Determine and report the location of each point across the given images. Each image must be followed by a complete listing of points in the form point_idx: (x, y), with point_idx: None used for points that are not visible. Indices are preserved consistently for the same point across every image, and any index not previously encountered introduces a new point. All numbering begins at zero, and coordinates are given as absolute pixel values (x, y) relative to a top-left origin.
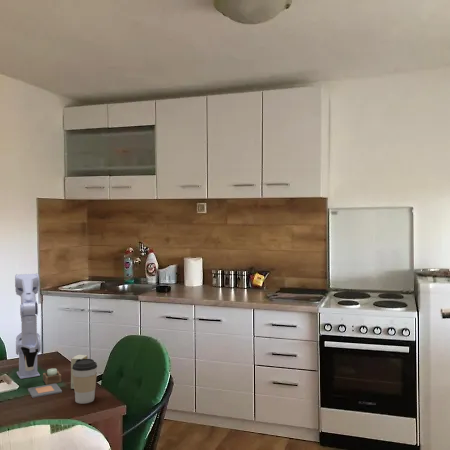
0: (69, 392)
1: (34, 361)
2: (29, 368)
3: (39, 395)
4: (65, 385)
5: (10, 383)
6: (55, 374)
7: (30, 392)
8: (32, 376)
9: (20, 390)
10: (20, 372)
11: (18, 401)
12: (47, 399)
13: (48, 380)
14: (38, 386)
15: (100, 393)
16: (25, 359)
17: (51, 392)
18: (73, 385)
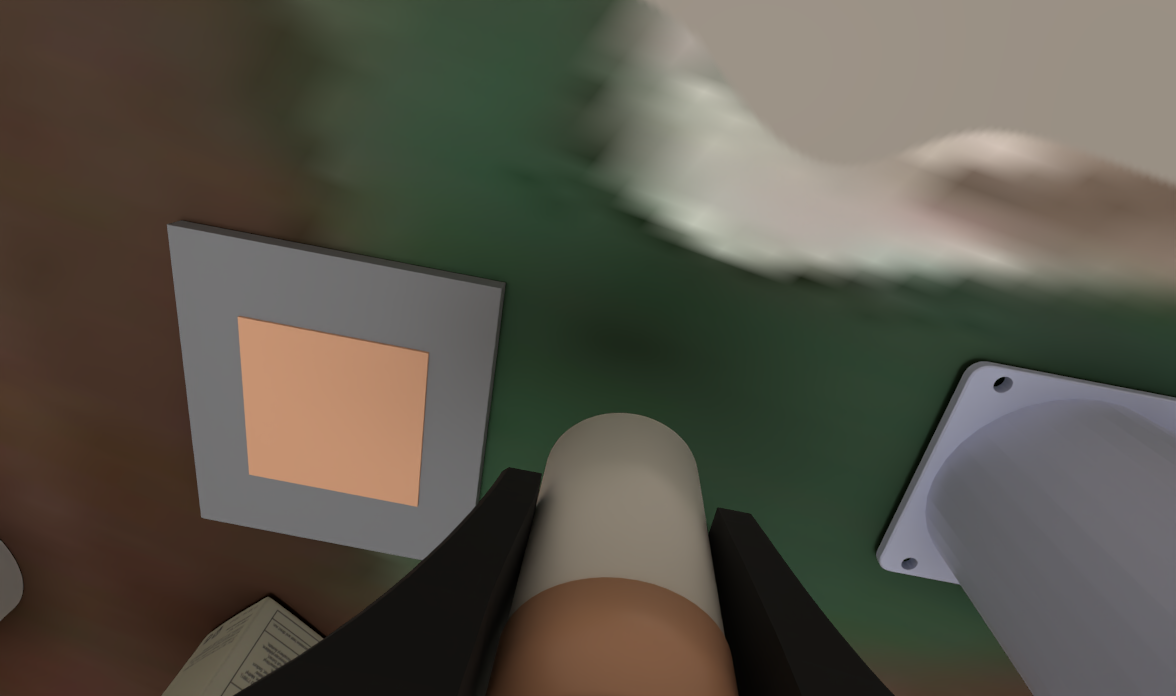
0: (187, 550)
1: (1035, 691)
2: (542, 481)
3: (178, 303)
4: None
5: (925, 196)
6: None
7: (321, 258)
8: (908, 494)
9: (538, 203)
10: (1097, 424)
11: (131, 27)
12: (70, 331)
13: None
14: (481, 407)
15: (58, 686)
16: (596, 582)
17: (205, 431)
18: (228, 635)
